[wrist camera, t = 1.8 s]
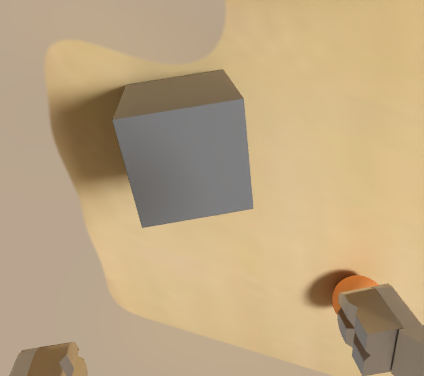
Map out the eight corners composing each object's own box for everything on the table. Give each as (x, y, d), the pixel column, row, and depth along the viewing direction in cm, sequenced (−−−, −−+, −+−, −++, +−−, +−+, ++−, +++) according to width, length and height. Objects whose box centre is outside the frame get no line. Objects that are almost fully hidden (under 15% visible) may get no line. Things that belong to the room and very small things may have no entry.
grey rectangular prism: (126, 84, 26) (112, 119, 19) (223, 69, 26) (243, 98, 19) (147, 172, 29) (142, 227, 22) (232, 157, 30) (253, 208, 23)
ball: (325, 269, 37) (346, 307, 32) (373, 261, 37) (400, 297, 32) (324, 304, 39) (343, 344, 35) (369, 296, 39) (394, 334, 35)
